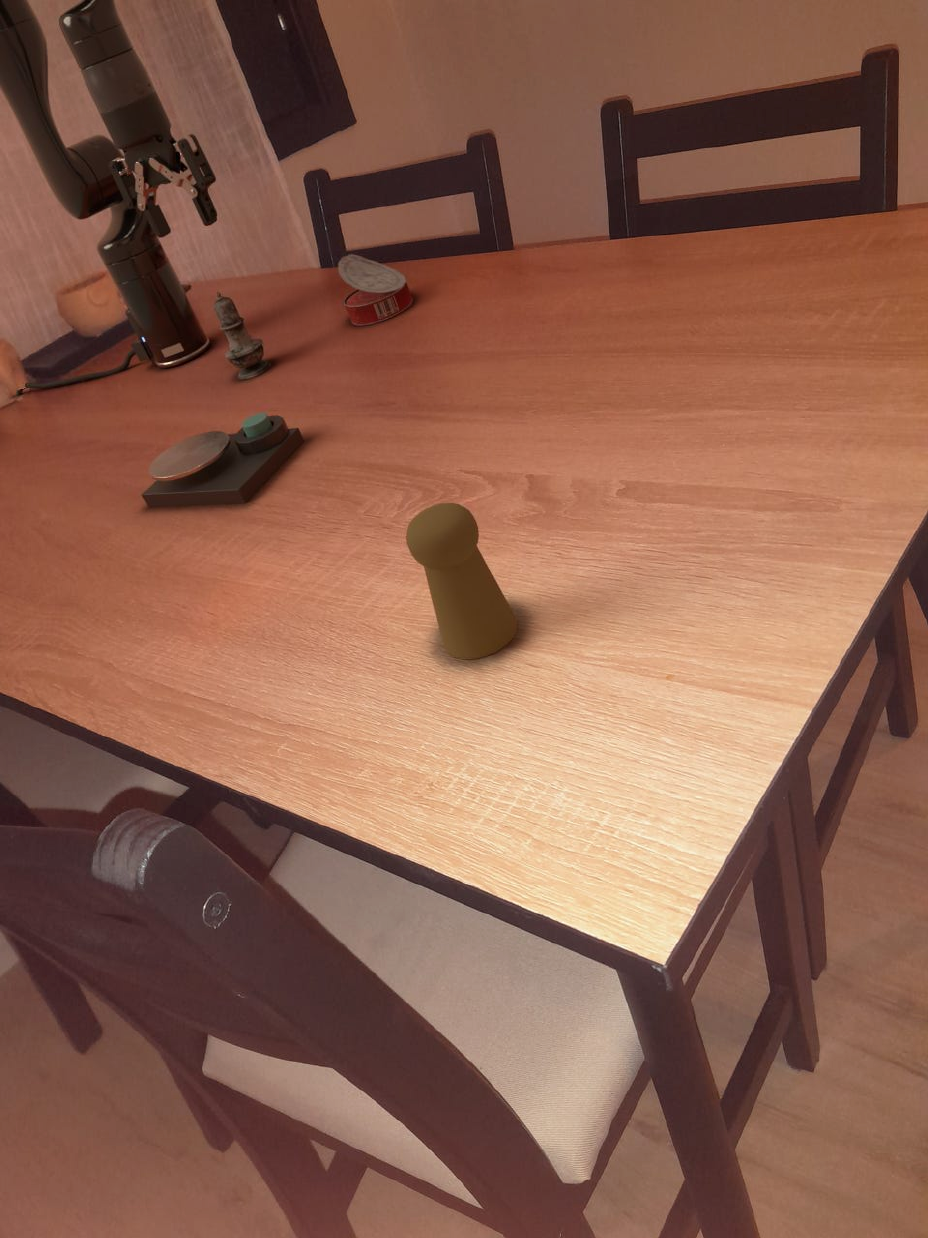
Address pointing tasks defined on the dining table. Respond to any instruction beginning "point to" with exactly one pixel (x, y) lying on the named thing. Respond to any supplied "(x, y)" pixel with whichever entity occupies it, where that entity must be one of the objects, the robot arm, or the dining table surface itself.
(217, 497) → the scale
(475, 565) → the pawn piece
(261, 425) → the tare button
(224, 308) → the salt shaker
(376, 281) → the canned food
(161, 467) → the scale pan
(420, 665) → the dining table surface
